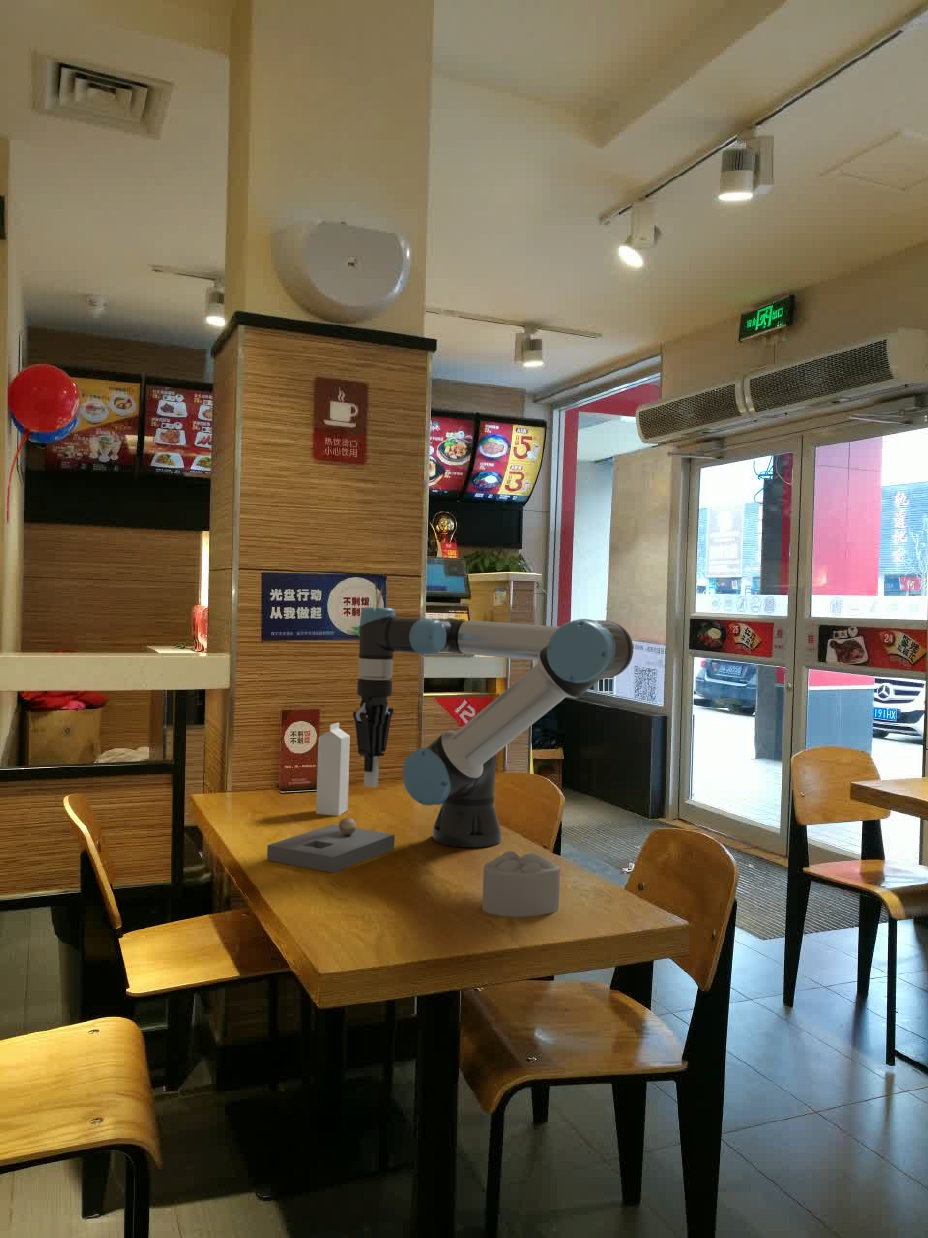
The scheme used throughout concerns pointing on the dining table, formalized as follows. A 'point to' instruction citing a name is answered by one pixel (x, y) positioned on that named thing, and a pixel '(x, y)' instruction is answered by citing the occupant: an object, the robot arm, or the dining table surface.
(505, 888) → the lumpy-topped squat cylinder
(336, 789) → the milk
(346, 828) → the wooden ball
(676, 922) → the dining table surface
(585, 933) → the dining table surface
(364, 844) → the pocket board
